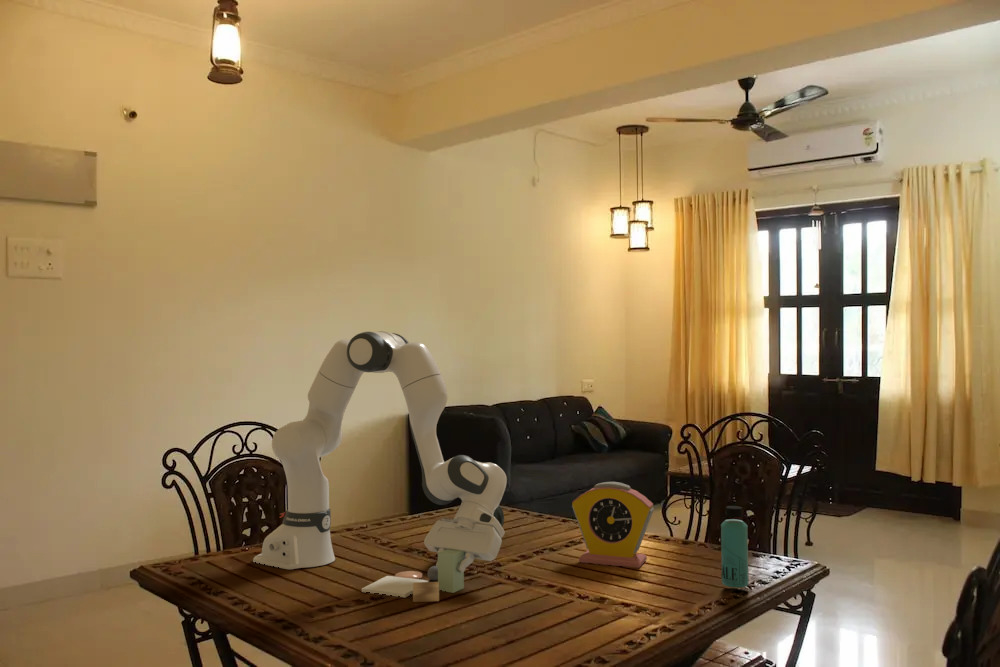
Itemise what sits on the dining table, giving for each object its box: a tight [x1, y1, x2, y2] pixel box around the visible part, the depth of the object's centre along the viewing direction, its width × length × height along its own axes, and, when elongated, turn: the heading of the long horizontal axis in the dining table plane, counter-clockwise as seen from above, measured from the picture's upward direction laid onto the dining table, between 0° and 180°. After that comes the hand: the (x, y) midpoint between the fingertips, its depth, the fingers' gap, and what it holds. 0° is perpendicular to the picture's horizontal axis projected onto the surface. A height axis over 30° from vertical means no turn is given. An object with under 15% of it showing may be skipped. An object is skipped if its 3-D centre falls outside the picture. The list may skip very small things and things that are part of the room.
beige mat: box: [361, 575, 430, 598], centre depth 200 cm, size 12×12×1 cm
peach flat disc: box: [394, 570, 423, 579], centre depth 210 cm, size 7×7×1 cm
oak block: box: [412, 581, 440, 603], centre depth 191 cm, size 6×4×4 cm, turn 94°
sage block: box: [437, 549, 465, 594], centre depth 199 cm, size 4×4×9 cm
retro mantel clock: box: [571, 481, 655, 569], centre depth 223 cm, size 22×9×22 cm, turn 68°
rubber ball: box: [427, 565, 438, 582], centre depth 206 cm, size 4×4×4 cm
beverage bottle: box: [720, 505, 750, 588], centre depth 197 cm, size 6×7×20 cm
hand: (449, 569), depth 198 cm, fingers closed on sage block, 4 cm apart
